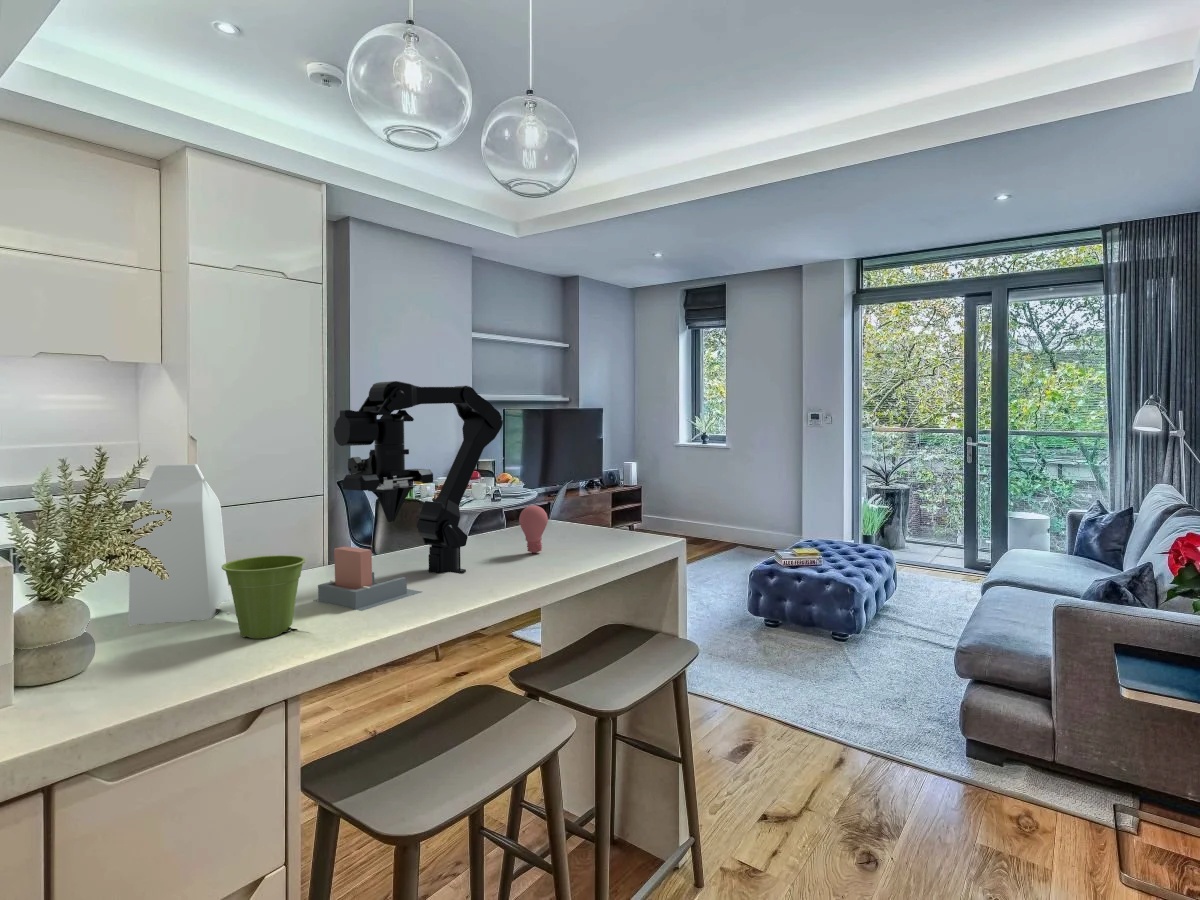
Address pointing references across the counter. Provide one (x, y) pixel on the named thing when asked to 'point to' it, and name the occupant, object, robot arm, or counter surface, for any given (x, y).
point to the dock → (364, 594)
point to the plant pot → (264, 593)
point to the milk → (180, 550)
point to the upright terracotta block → (353, 567)
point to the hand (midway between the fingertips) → (391, 521)
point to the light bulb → (533, 526)
